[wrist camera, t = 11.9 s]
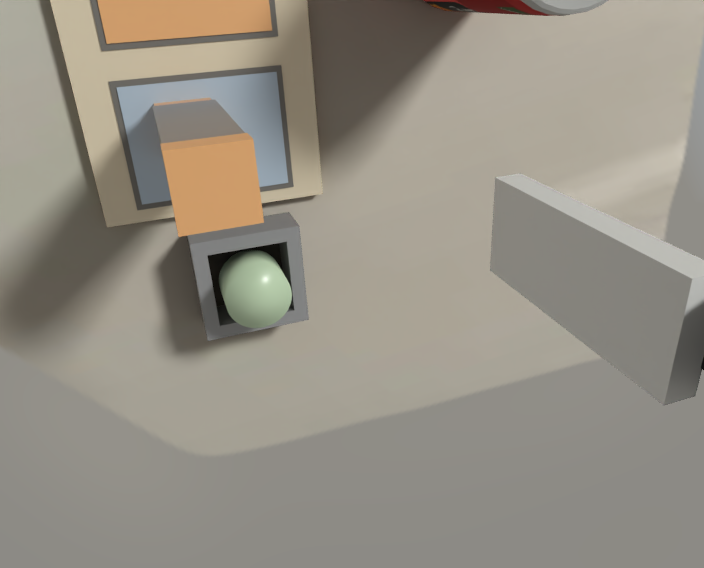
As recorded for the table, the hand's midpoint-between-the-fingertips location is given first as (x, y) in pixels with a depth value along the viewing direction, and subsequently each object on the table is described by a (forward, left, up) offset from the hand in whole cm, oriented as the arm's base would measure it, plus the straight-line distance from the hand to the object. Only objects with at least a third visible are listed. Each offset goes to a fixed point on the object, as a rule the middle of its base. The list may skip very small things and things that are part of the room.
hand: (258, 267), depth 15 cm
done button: (+9, +2, -18) cm, 20 cm away
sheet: (-4, +1, -20) cm, 20 cm away
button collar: (+9, +2, -20) cm, 22 cm away
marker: (0, 0, -19) cm, 19 cm away
